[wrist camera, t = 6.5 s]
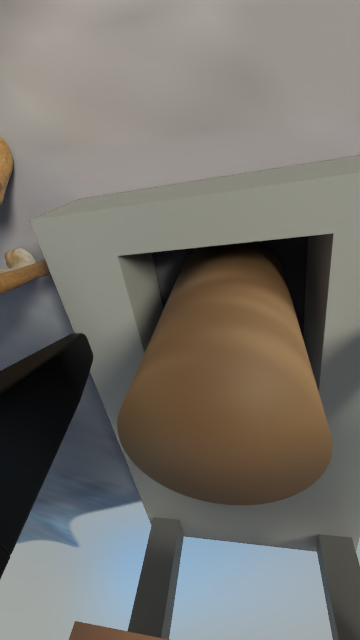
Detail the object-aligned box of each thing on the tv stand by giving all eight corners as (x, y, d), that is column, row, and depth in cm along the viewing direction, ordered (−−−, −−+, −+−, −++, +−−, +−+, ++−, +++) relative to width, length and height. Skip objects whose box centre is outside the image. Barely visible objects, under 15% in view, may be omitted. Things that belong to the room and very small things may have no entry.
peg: (285, 229, 10) (344, 364, 4) (284, 329, 12) (323, 514, 6) (170, 242, 11) (90, 367, 5) (186, 333, 13) (142, 497, 7)
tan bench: (359, 434, 14) (495, 781, 7) (347, 493, 17) (436, 797, 9) (140, 427, 17) (57, 674, 9) (158, 480, 19) (103, 709, 12)
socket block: (397, 149, 9) (462, 157, 6) (337, 493, 17) (354, 555, 15) (78, 199, 11) (29, 219, 8) (165, 480, 19) (154, 532, 17)
